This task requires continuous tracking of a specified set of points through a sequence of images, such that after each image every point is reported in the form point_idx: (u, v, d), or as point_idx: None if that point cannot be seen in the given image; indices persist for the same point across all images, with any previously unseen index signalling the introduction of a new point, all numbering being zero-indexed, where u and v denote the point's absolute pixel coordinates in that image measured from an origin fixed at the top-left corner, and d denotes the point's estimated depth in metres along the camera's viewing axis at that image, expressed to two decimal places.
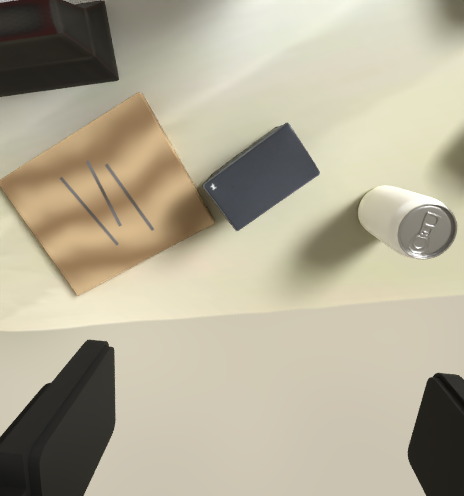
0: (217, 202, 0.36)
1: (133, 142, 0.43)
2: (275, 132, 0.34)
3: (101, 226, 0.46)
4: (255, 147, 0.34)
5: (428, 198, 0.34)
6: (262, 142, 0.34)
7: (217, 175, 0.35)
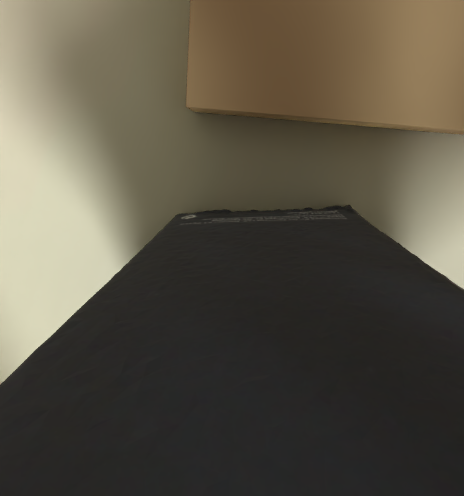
0: None
1: None
2: None
3: None
4: None
5: None
6: None
7: None
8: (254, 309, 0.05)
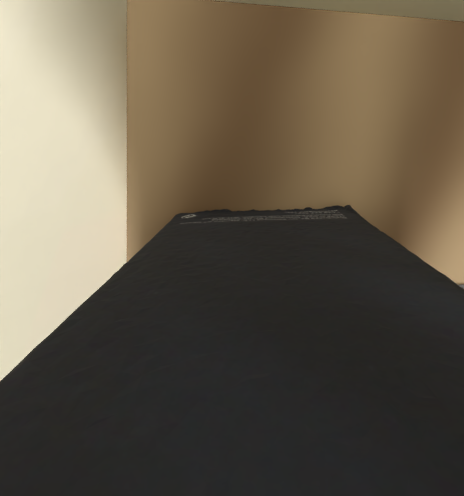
0: None
1: None
2: None
3: None
4: None
5: None
6: None
7: None
8: (253, 307, 0.05)
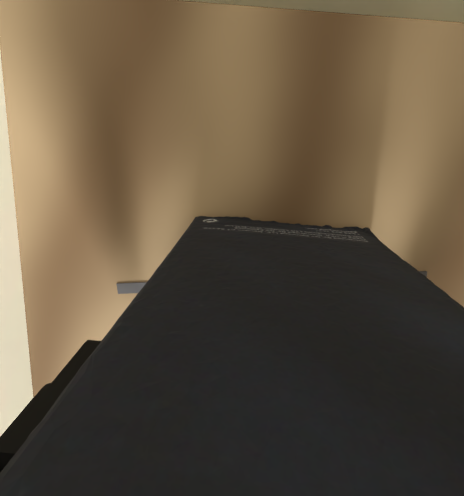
0: None
1: None
2: None
3: None
4: None
5: None
6: None
7: None
8: (304, 332, 0.05)
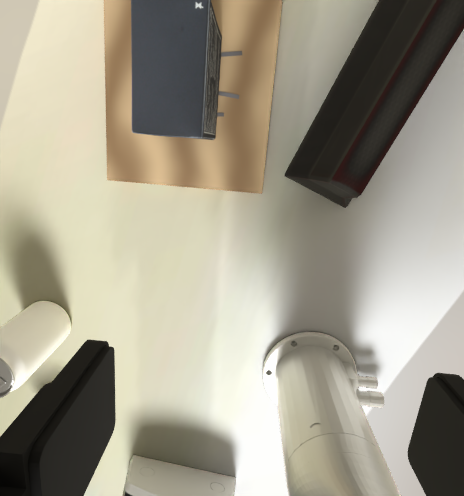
0: None
1: (225, 157, 0.39)
2: (202, 119, 0.28)
3: None
4: (203, 88, 0.28)
5: (20, 384, 0.38)
6: (202, 99, 0.28)
7: (206, 21, 0.26)
8: None
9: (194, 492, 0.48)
